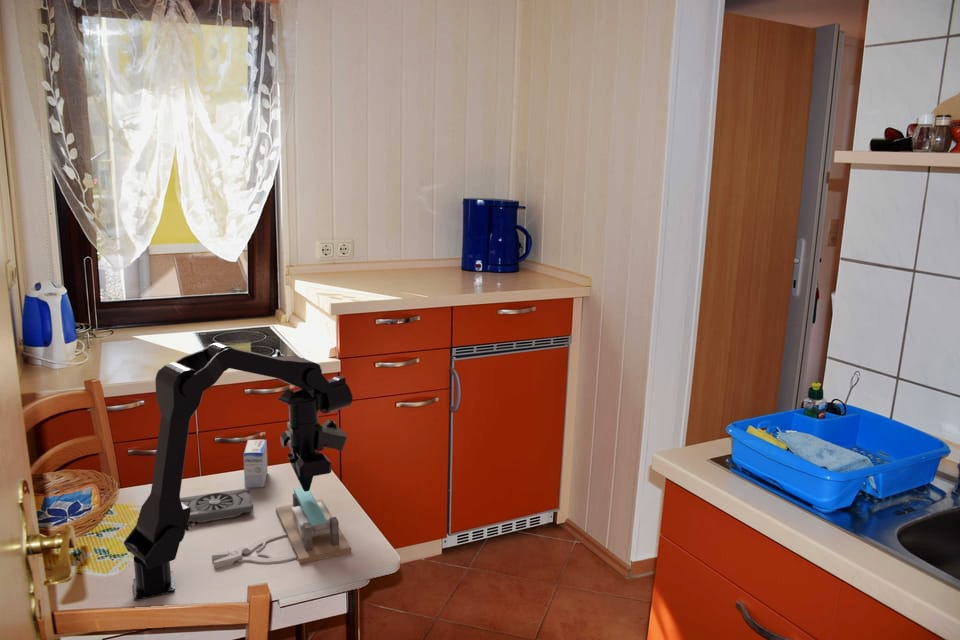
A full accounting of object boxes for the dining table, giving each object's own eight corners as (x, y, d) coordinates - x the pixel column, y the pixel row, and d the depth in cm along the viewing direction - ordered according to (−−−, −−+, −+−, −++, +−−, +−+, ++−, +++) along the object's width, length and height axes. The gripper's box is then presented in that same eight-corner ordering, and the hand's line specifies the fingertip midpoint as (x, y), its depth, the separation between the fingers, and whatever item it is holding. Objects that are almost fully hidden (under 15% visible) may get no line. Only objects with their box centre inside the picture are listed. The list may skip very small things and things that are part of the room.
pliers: (299, 552, 142) (217, 571, 135) (299, 559, 142) (217, 579, 135) (286, 528, 150) (208, 545, 143) (286, 535, 151) (209, 552, 144)
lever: (330, 529, 144) (329, 524, 144) (313, 533, 143) (313, 527, 142) (308, 490, 159) (308, 485, 159) (293, 493, 158) (293, 488, 157)
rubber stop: (312, 515, 158) (311, 494, 157) (295, 518, 157) (294, 497, 156) (310, 510, 160) (309, 490, 159) (293, 514, 159) (292, 493, 158)
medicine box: (248, 473, 177) (246, 439, 175) (268, 472, 178) (266, 438, 176) (244, 488, 170) (242, 453, 168) (264, 487, 170) (263, 452, 168)
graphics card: (168, 522, 148) (166, 495, 159) (169, 539, 149) (167, 511, 160) (255, 509, 155) (248, 483, 165) (256, 525, 156) (249, 498, 166)
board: (351, 552, 145) (350, 524, 143) (299, 563, 140) (298, 535, 139) (322, 503, 164) (321, 477, 162) (275, 511, 159) (274, 486, 158)
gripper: (356, 429, 146) (357, 502, 149) (330, 399, 162) (332, 465, 165) (299, 438, 141) (301, 513, 144) (278, 406, 157) (281, 474, 161)
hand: (306, 490), depth 154 cm, fingers closed
